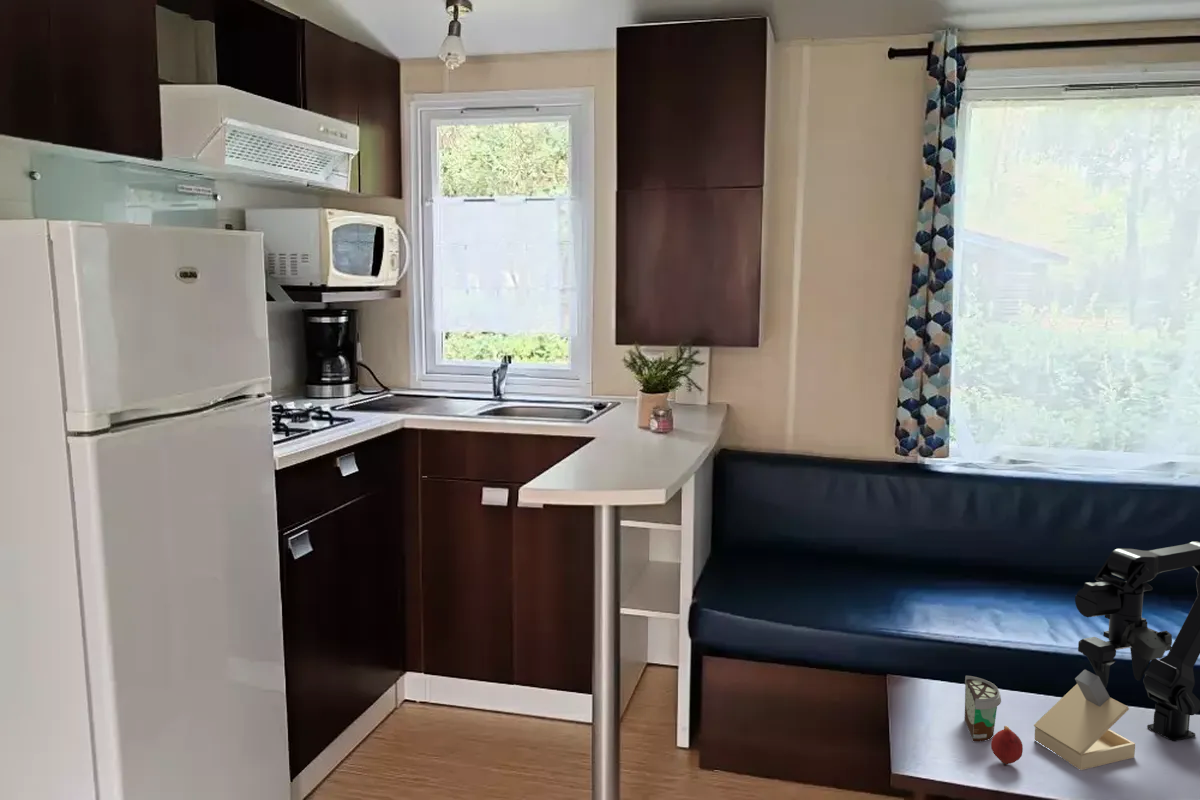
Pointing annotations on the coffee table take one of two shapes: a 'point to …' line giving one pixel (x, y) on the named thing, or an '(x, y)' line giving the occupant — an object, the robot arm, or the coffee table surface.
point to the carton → (1092, 750)
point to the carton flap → (1082, 714)
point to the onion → (1007, 746)
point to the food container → (980, 707)
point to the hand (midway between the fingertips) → (1120, 683)
